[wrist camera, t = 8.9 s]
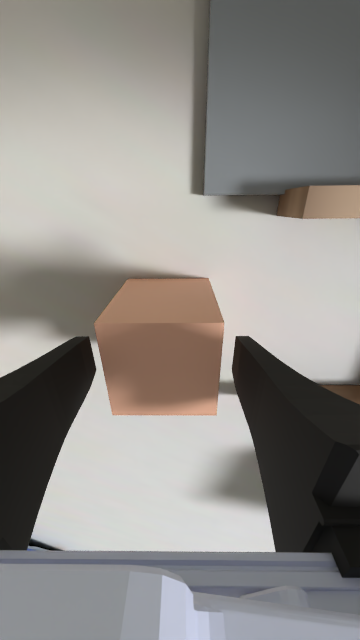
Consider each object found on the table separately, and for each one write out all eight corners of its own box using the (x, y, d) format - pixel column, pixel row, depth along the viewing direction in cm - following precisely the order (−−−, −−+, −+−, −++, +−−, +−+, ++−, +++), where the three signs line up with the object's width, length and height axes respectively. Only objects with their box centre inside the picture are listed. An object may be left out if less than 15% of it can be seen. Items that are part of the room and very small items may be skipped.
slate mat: (593, -167, 7) (625, -196, 7) (435, 193, 12) (447, 192, 11) (215, -156, 7) (217, -184, 7) (203, 195, 12) (204, 194, 11)
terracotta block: (208, 278, 14) (224, 322, 9) (205, 346, 16) (216, 415, 11) (127, 278, 14) (93, 323, 9) (135, 346, 16) (112, 415, 11)
